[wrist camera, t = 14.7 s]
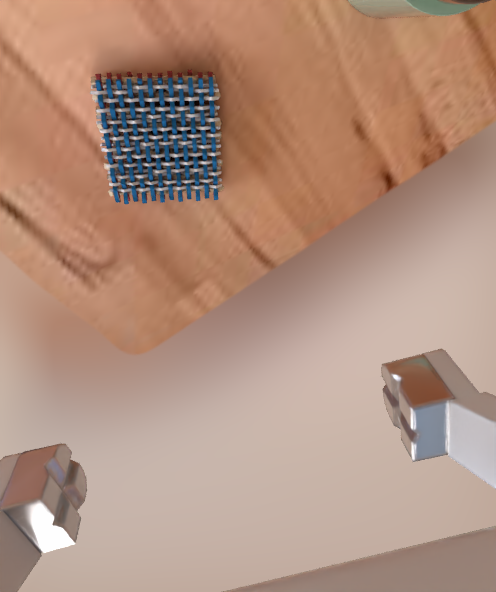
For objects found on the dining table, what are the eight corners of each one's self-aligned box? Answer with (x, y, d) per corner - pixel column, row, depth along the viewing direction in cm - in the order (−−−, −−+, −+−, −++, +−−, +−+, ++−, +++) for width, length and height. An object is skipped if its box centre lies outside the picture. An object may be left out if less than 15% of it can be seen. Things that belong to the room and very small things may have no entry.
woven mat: (219, 68, 37) (221, 70, 35) (223, 193, 42) (225, 201, 41) (89, 70, 36) (84, 72, 34) (110, 198, 41) (107, 206, 40)
